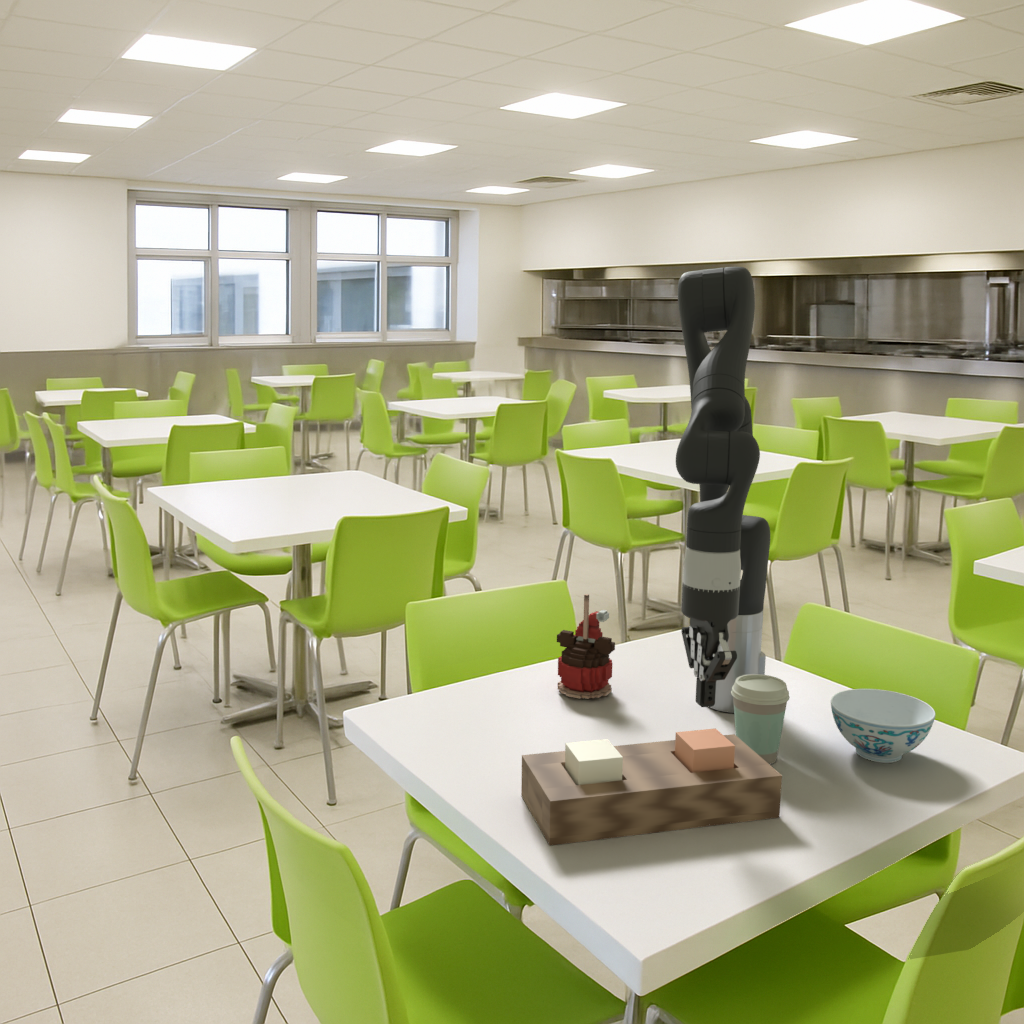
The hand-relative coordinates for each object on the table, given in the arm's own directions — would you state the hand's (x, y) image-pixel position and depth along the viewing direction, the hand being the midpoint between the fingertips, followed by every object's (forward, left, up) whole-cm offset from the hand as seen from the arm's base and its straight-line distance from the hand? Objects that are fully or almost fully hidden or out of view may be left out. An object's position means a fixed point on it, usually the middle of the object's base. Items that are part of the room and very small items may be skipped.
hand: (704, 704), depth 137 cm
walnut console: (+8, 0, -14) cm, 16 cm away
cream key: (+16, 0, -9) cm, 18 cm away
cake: (+3, -43, -14) cm, 45 cm away
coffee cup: (-14, -11, -14) cm, 23 cm away
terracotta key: (0, 0, -9) cm, 9 cm away
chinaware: (-33, -8, -14) cm, 37 cm away
